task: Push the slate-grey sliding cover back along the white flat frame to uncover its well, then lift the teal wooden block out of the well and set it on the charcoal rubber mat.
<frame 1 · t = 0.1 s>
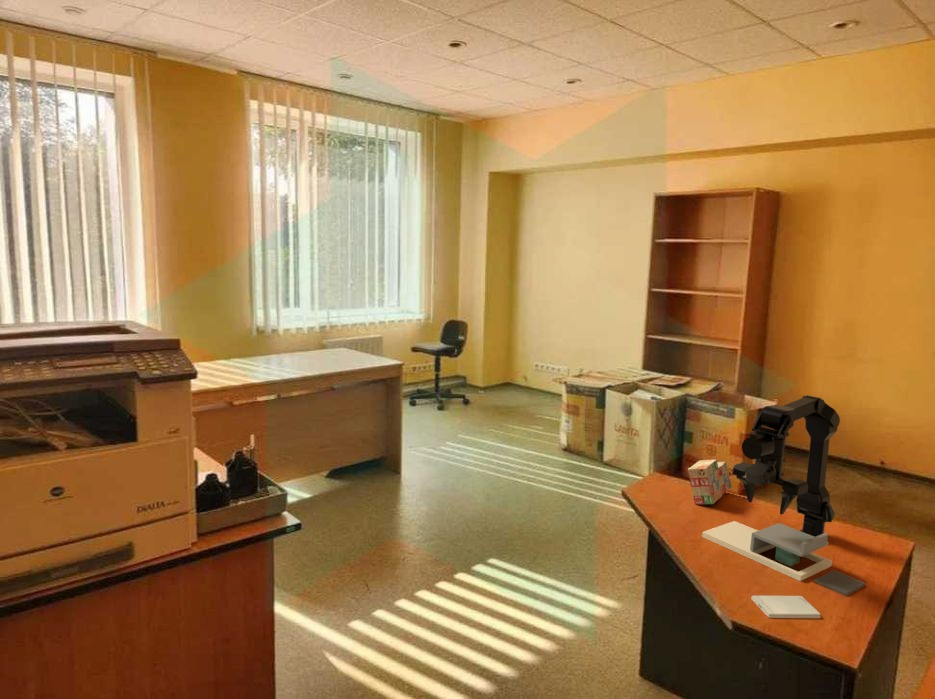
hand: (765, 508, 173), 15 cm above the table, tool pointing down, fingers open, 9 cm apart
cover: (789, 542, 173), point 5 cm above the table, slide at 0.0 cm
mat: (839, 583, 163), on the table
hard drive: (784, 611, 150), on the table
block: (786, 561, 174), resting in white flat frame
stack of blocks: (713, 496, 218), point 1 cm above the table
white flat frame: (786, 560, 174), on the table
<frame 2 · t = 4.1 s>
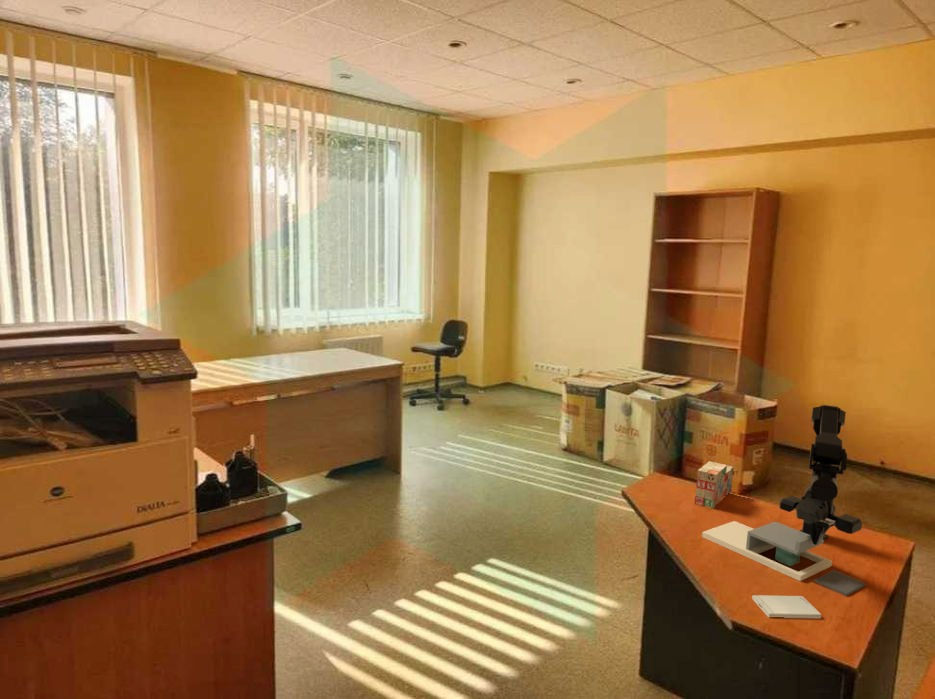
hand: (815, 544, 167), 8 cm above the table, tool pointing down, fingers closed
cover: (784, 540, 174), point 5 cm above the table, slide at 1.3 cm, touching gripper
stack of blocks: (713, 498, 219), on the table
everything else where it was.
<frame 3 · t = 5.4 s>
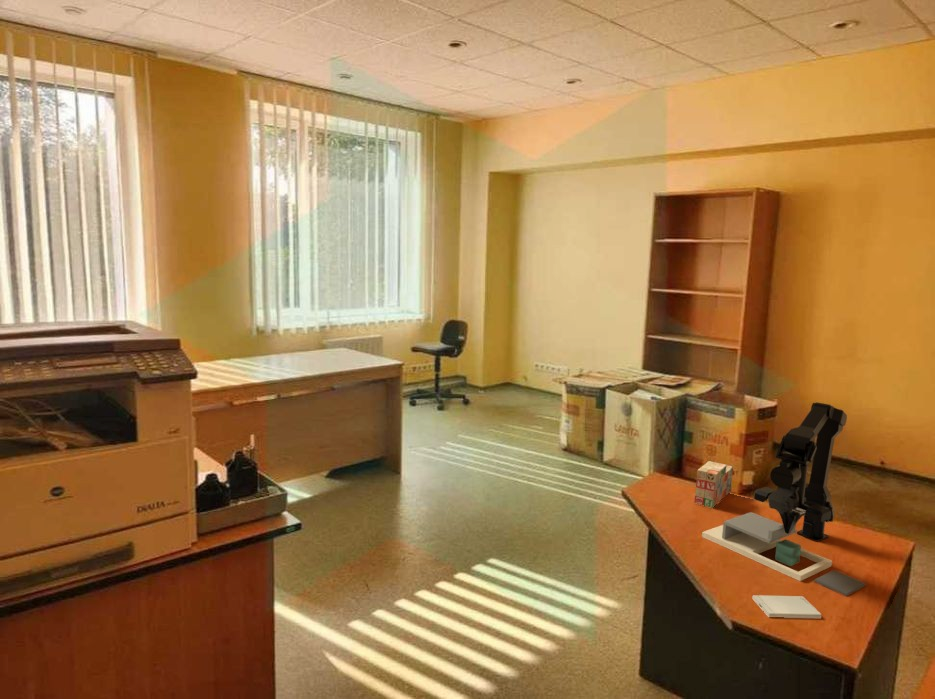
hand: (787, 533, 174), 8 cm above the table, tool pointing down, fingers closed
cover: (759, 530, 180), point 5 cm above the table, slide at 8.8 cm, touching gripper
everything else where it was.
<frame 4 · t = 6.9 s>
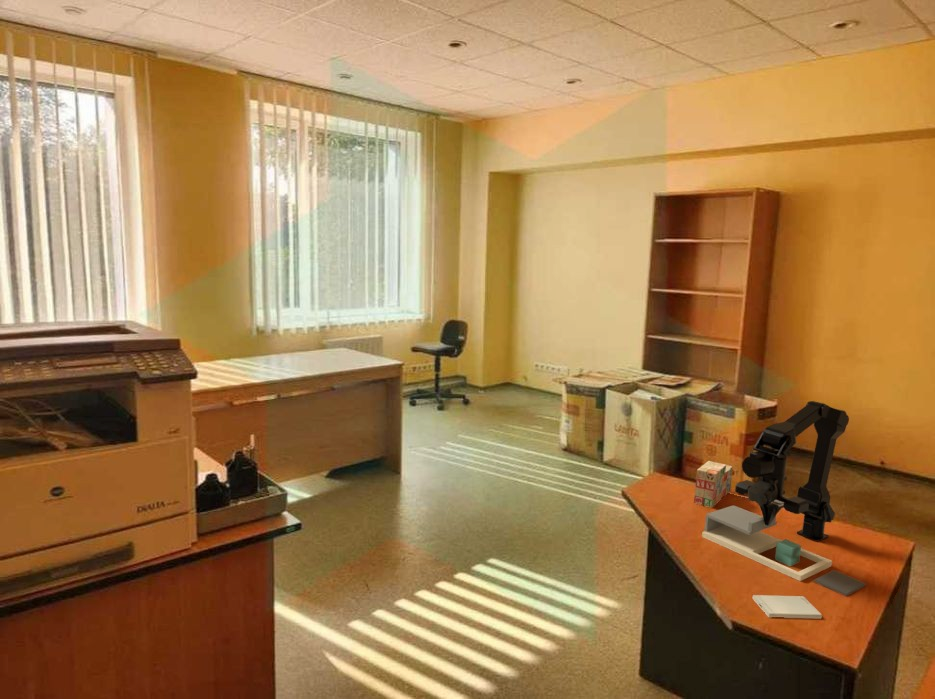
hand: (767, 525, 178), 8 cm above the table, tool pointing down, fingers closed
cover: (740, 522, 185), point 5 cm above the table, slide at 14.7 cm, touching gripper
everything else where it was.
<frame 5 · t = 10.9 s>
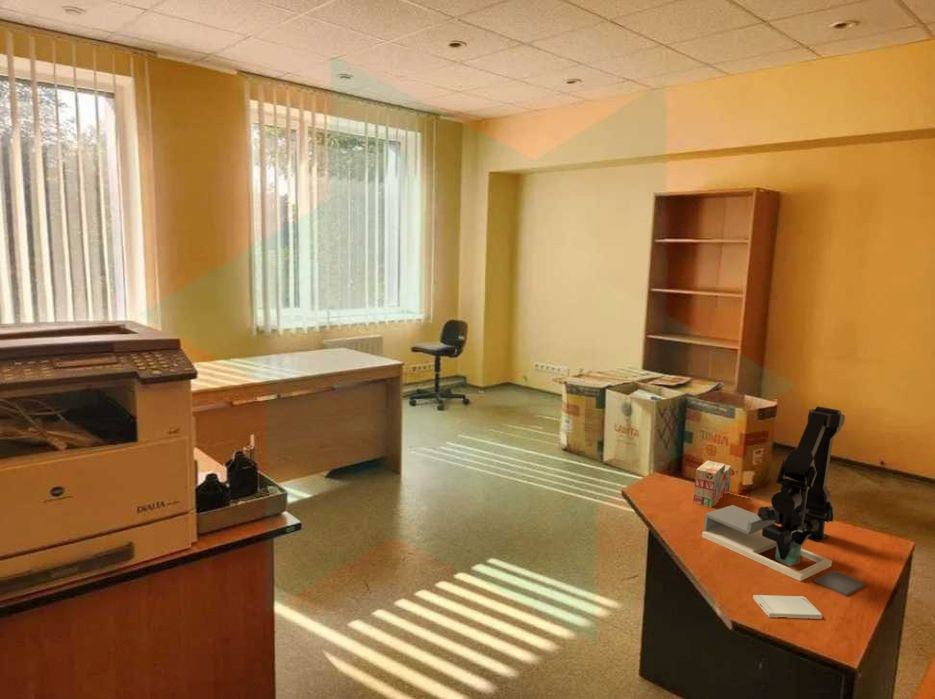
hand: (787, 557, 174), 1 cm above the table, tool pointing down, fingers closed on block, 4 cm apart
cover: (739, 522, 186), point 5 cm above the table, slide at 15.0 cm
block: (787, 560, 174), resting in white flat frame, touching gripper
everything else where it was.
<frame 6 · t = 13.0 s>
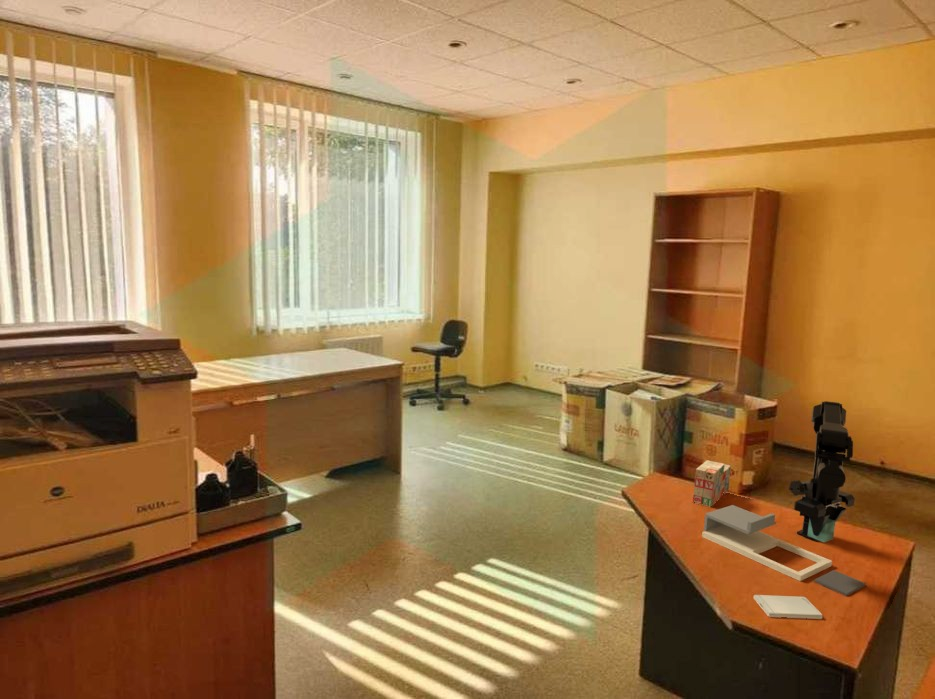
hand: (820, 533, 166), 11 cm above the table, tool pointing down, fingers closed on block, 4 cm apart
block: (820, 537, 166), point 10 cm above the table, touching gripper
when the fingers open (3 cm above the table, at t = 15.2 s): block drops 2 cm, resting on mat.
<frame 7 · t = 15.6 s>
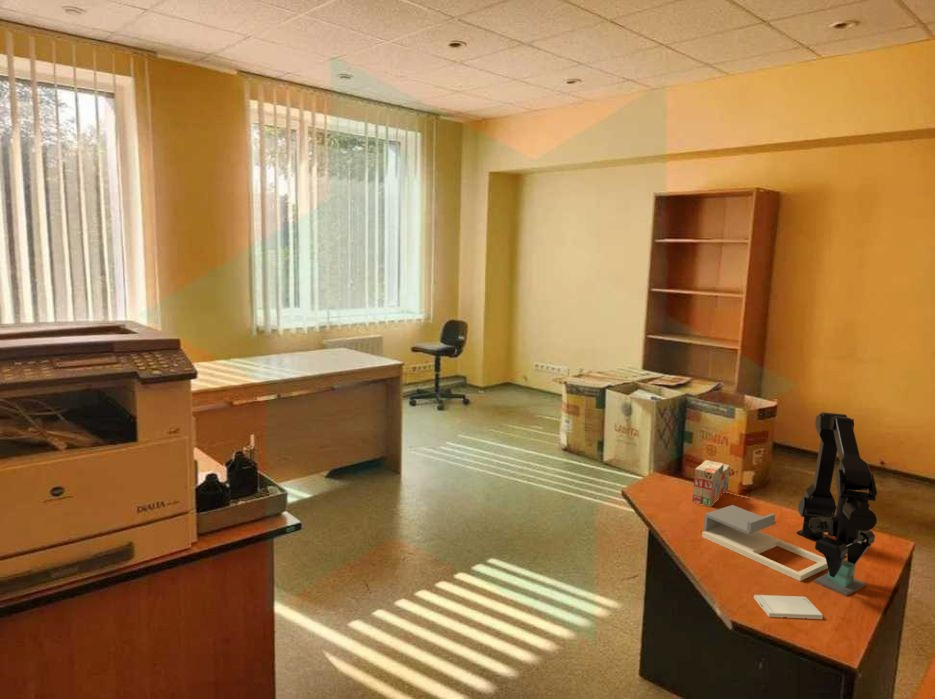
hand: (841, 572, 162), 3 cm above the table, tool pointing down, fingers open, 9 cm apart
block: (839, 581, 163), point 1 cm above the table, touching mat
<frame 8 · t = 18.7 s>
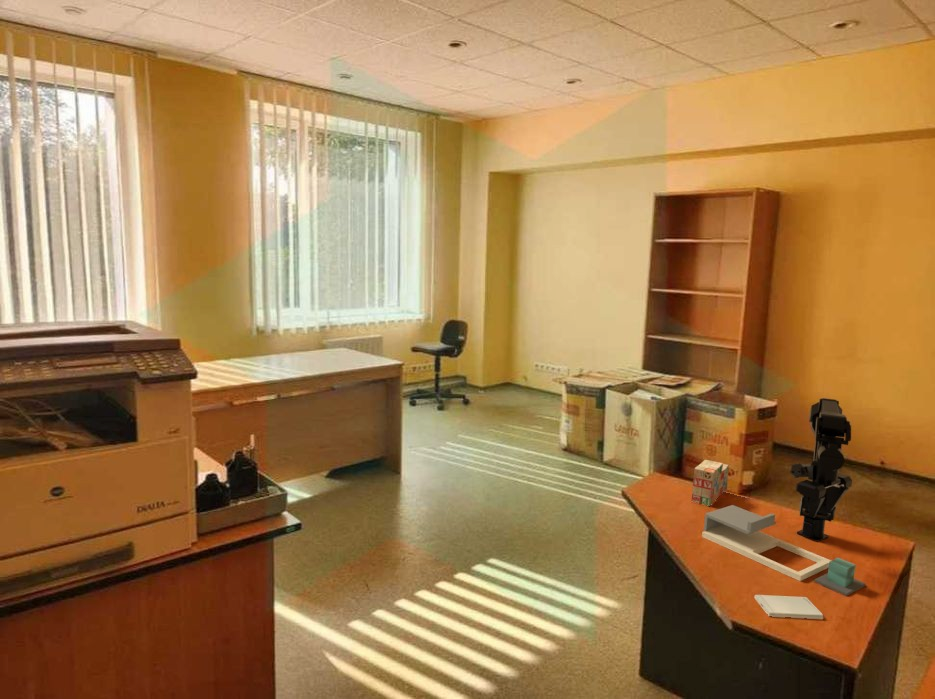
hand: (820, 513, 175), 13 cm above the table, tool pointing down, fingers open, 9 cm apart
at the end: cover slide at 15.0 cm; block inside the target area on the mat (0.0 cm from its centre), point 0.6 cm above the mat's base; block tilted 0° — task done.
